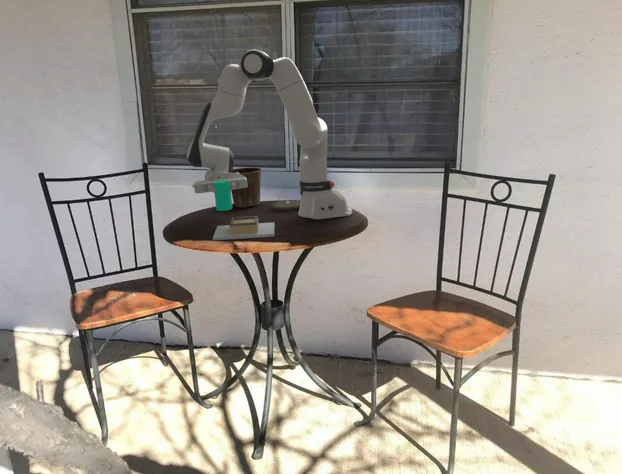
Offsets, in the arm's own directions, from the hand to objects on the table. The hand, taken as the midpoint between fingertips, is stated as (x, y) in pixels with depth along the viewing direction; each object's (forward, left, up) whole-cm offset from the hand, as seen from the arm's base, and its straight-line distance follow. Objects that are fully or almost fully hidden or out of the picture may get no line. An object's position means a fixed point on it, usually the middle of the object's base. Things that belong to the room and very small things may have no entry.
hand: (223, 188), depth 188 cm
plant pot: (-5, -42, -17) cm, 46 cm away
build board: (-7, +4, -16) cm, 18 cm away
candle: (0, -1, -8) cm, 8 cm away
